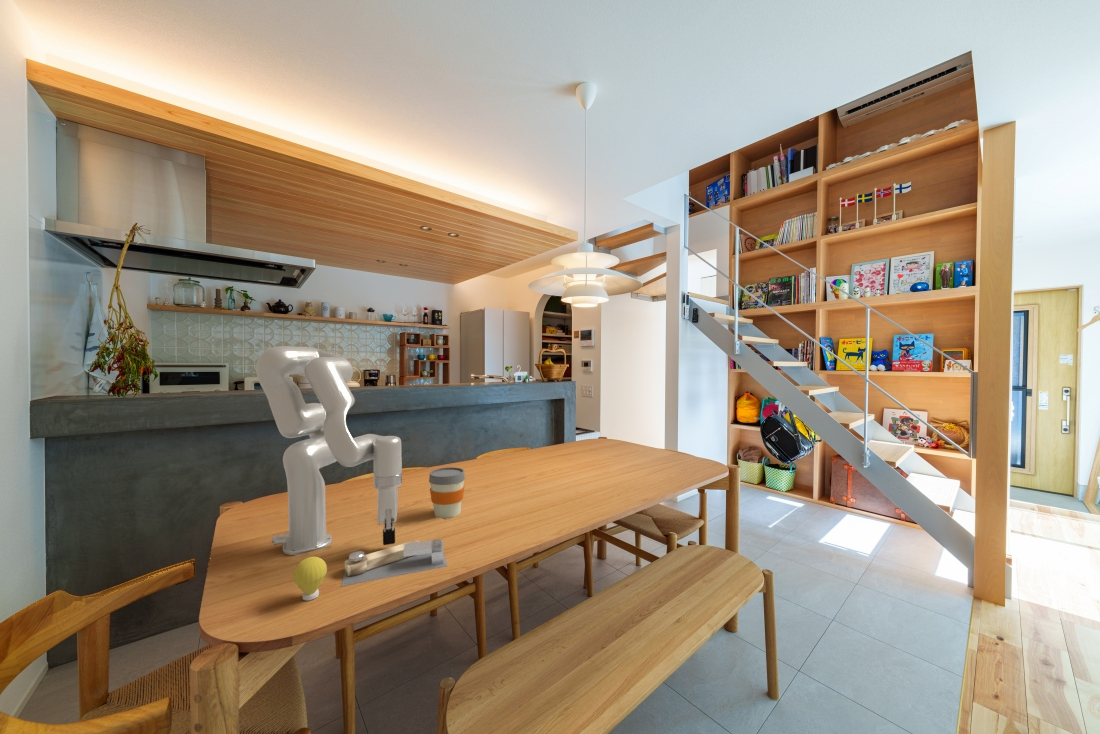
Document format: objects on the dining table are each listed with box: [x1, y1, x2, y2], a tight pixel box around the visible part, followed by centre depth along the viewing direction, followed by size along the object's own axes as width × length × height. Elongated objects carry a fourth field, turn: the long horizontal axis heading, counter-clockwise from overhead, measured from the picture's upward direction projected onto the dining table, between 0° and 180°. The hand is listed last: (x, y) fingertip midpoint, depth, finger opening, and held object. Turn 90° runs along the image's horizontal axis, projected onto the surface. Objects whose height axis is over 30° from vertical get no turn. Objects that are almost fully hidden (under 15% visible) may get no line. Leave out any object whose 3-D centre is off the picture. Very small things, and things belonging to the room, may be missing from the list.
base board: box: [340, 550, 448, 587], centre depth 108 cm, size 25×14×1 cm, turn 111°
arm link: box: [344, 539, 420, 576], centre depth 108 cm, size 19×5×2 cm, turn 129°
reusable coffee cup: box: [428, 466, 466, 519], centre depth 145 cm, size 13×13×15 cm
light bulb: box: [292, 556, 328, 601], centre depth 93 cm, size 7×7×10 cm
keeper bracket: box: [404, 538, 444, 565], centre depth 109 cm, size 10×5×4 cm, turn 106°
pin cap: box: [348, 550, 365, 562], centre depth 104 cm, size 4×4×1 cm
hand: (389, 543), depth 116 cm, fingers closed
